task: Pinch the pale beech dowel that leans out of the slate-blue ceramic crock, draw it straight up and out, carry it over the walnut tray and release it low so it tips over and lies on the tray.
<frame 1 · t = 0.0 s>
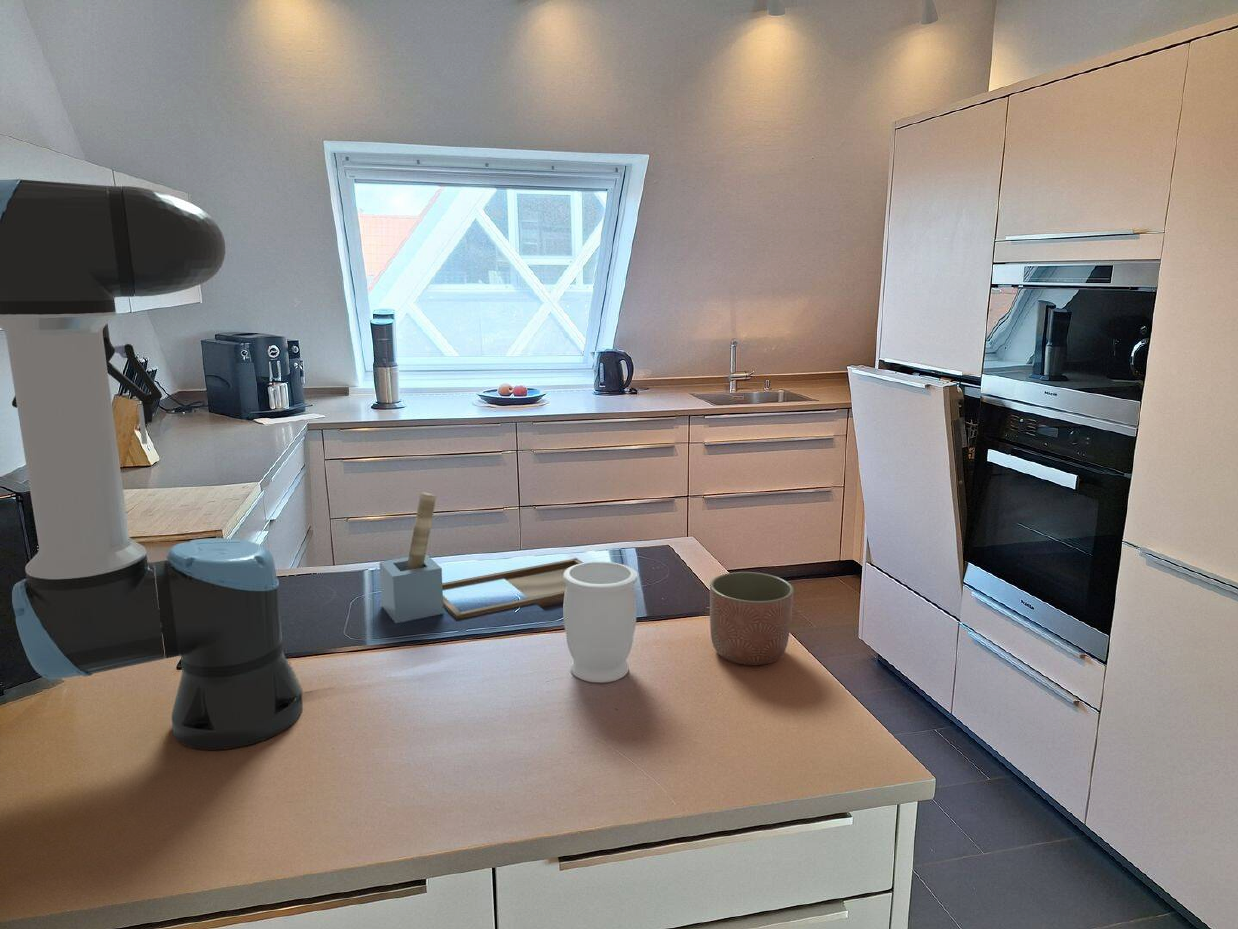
hand: (96, 446, 133), 28 cm above the worktop, fingers open, 13 cm apart
planter: (748, 654, 125), on the worktop
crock: (412, 615, 137), on the worktop
tray: (522, 593, 147), on the worktop
dowel: (406, 610, 137), point 1 cm above the worktop, touching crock
jar: (599, 671, 119), on the worktop
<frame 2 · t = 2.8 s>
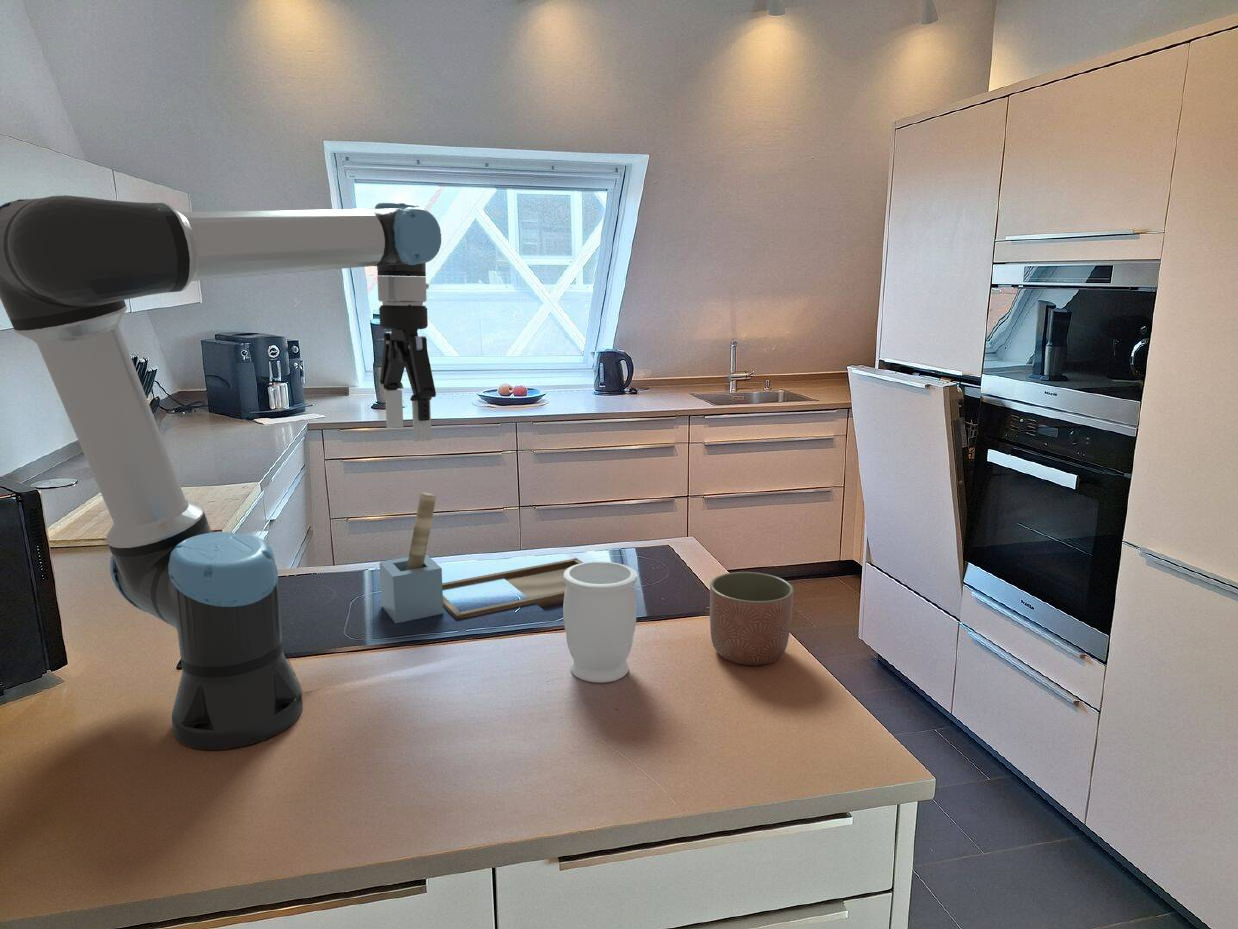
hand: (408, 433, 136), 30 cm above the worktop, fingers open, 13 cm apart
nothing on the worktop moved.
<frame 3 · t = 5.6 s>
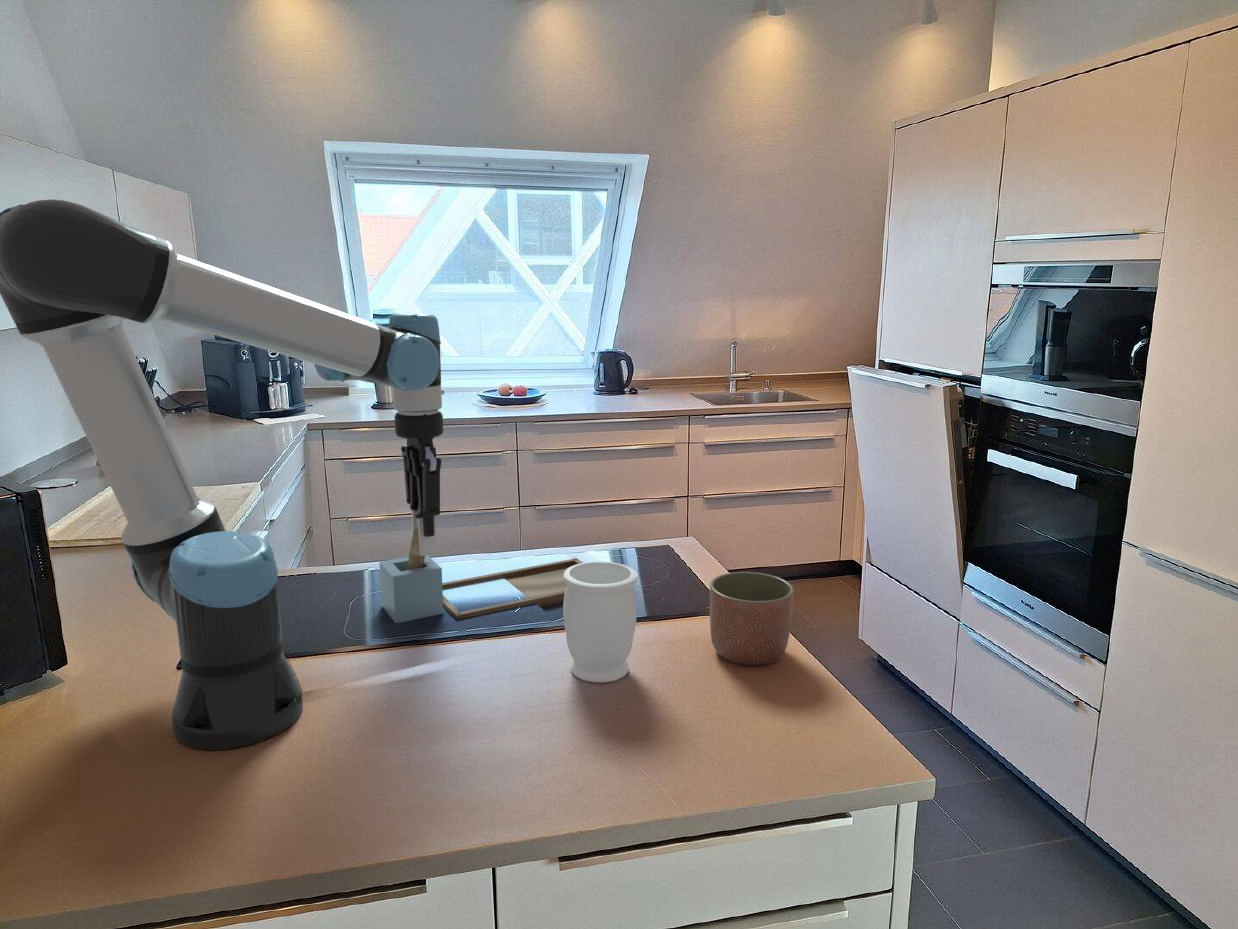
hand: (425, 550, 136), 11 cm above the worktop, fingers closed on dowel, 2 cm apart
dowel: (406, 610, 137), point 1 cm above the worktop, touching gripper
everything else where it was.
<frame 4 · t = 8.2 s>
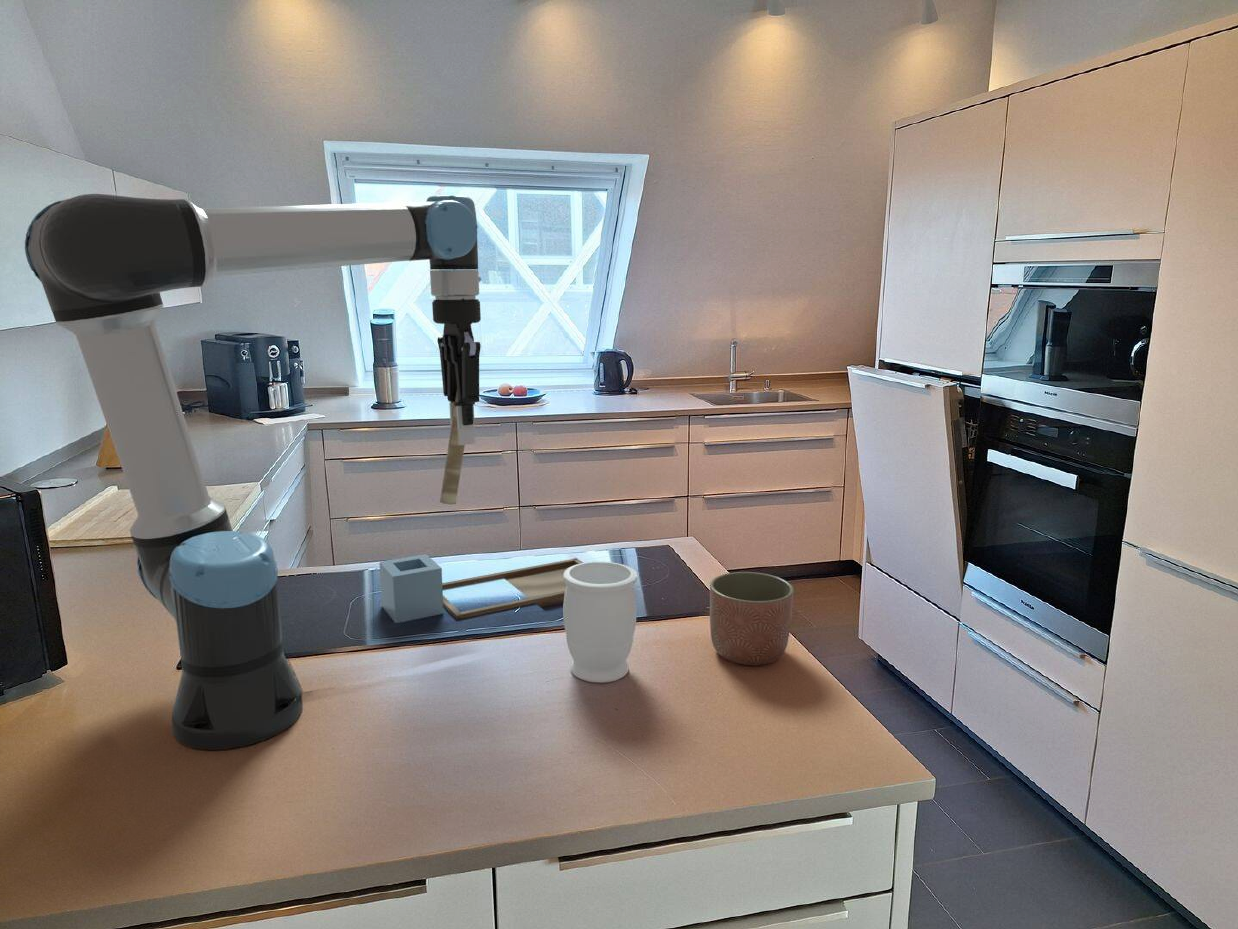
hand: (463, 441, 136), 29 cm above the worktop, fingers closed on dowel, 2 cm apart
dowel: (447, 502, 137), point 19 cm above the worktop, touching gripper
everything else where it was.
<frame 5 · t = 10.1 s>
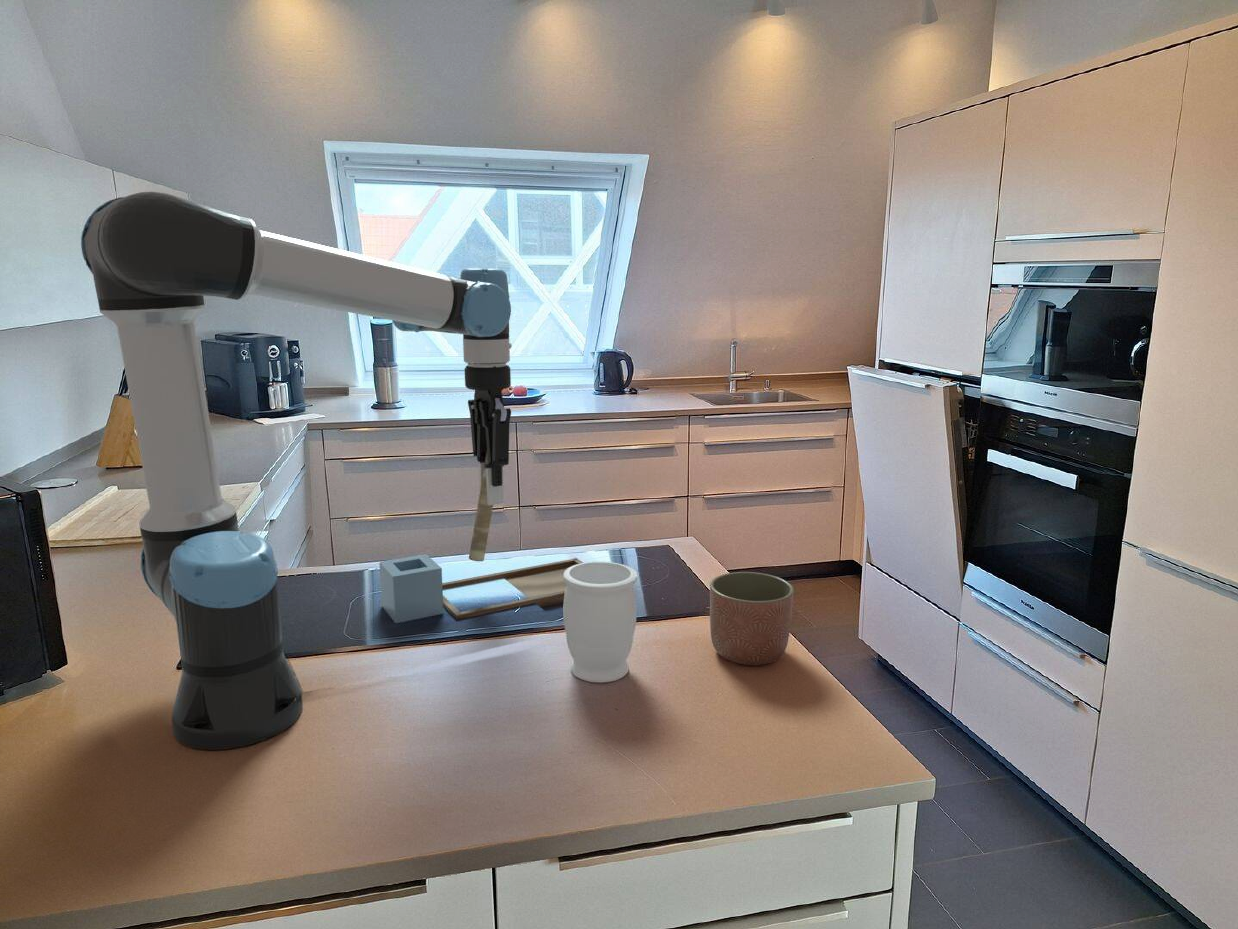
hand: (491, 501, 141), 18 cm above the worktop, fingers closed on dowel, 2 cm apart
dowel: (476, 559, 141), point 8 cm above the worktop, touching gripper
everything else where it was.
when the fingers open (12 cm above the worktop, at t = 11.2 s): dowel moves 2 cm and tips over, resting on tray.
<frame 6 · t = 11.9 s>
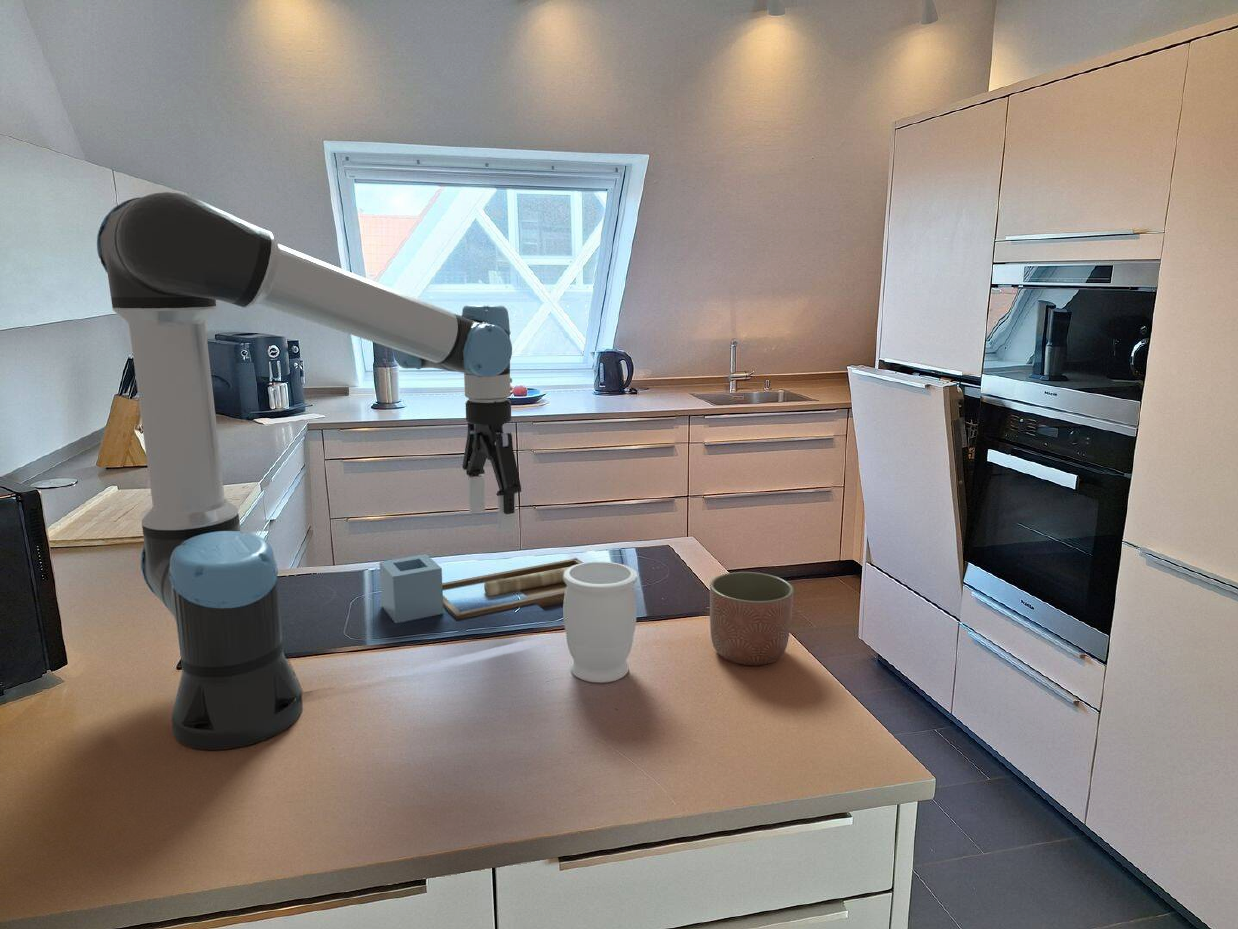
hand: (491, 521, 141), 14 cm above the worktop, fingers open, 13 cm apart
dowel: (486, 589, 144), point 2 cm above the worktop, tilted 77°, touching tray
everything else where it was.
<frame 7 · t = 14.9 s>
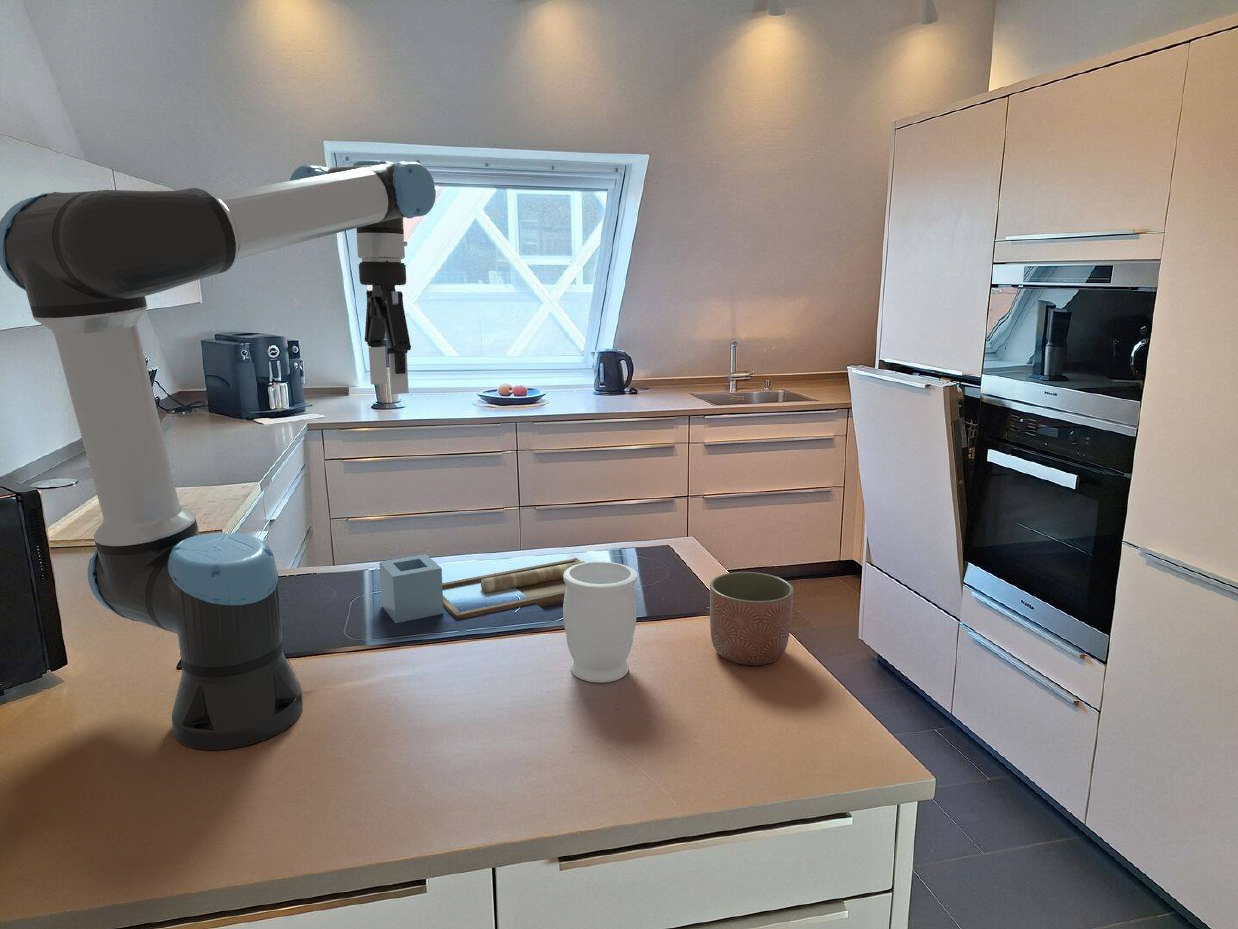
hand: (389, 388, 140), 37 cm above the worktop, fingers open, 13 cm apart
dowel: (483, 586, 145), point 2 cm above the worktop, tilted 87°, touching tray
everything else where it was.
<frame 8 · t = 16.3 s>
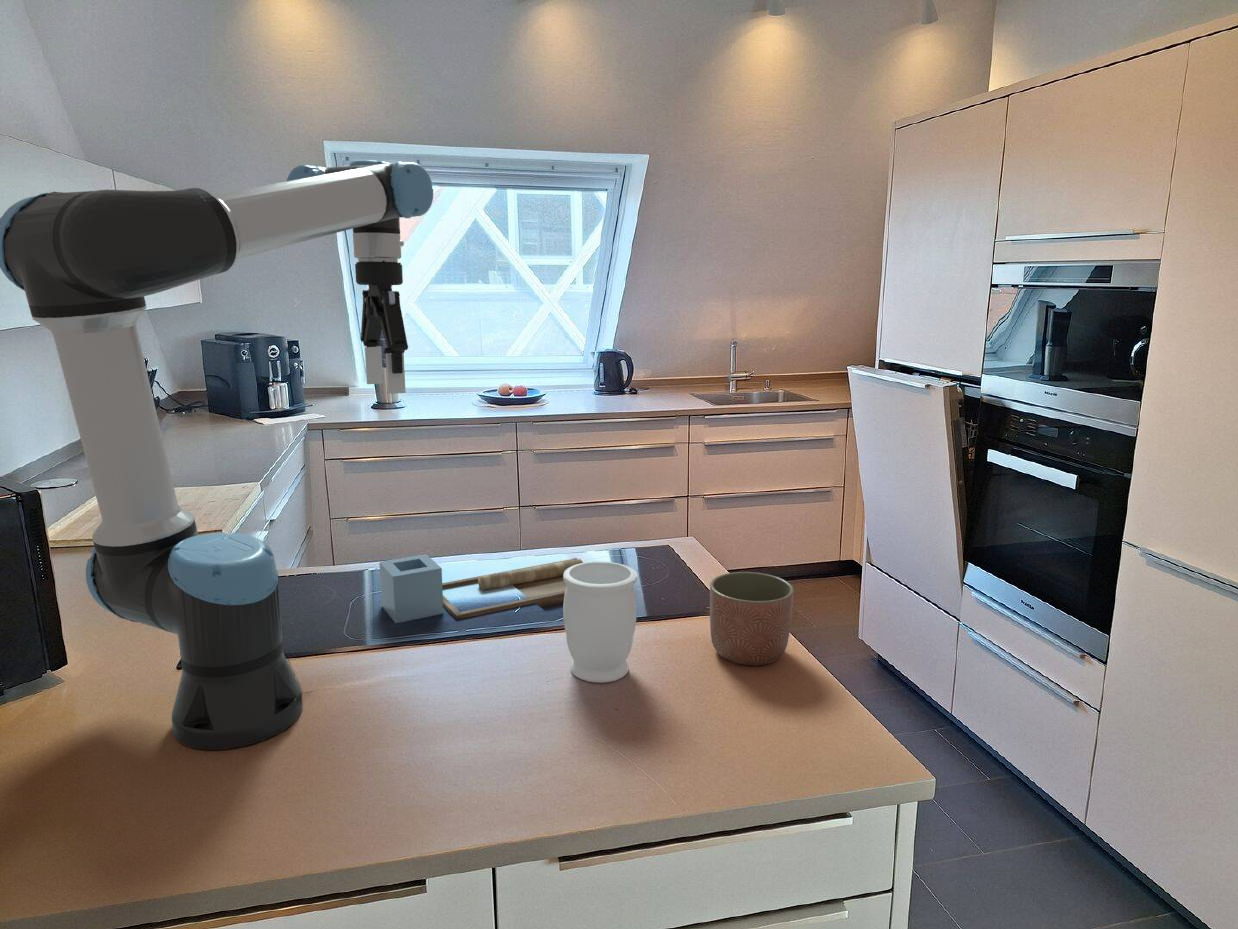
hand: (385, 388, 140), 37 cm above the worktop, fingers open, 13 cm apart
dowel: (480, 583, 146), point 2 cm above the worktop, tilted 100°, touching tray
everything else where it was.
at the end: dowel inside the target area on the tray (7.3 cm from its centre), point 2.1 cm above the tray's base; dowel tilted 100°; dowel touching tray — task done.
